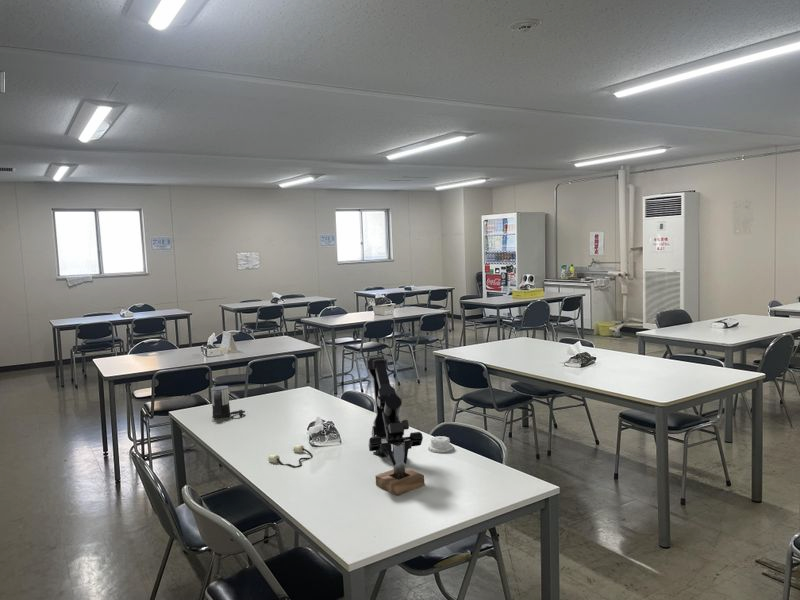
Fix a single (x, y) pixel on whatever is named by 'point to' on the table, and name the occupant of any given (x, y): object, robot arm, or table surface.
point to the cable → (296, 449)
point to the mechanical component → (440, 444)
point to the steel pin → (399, 460)
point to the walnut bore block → (400, 481)
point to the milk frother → (222, 402)
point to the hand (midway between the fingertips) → (399, 464)
